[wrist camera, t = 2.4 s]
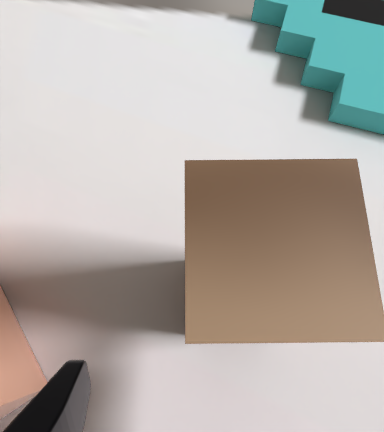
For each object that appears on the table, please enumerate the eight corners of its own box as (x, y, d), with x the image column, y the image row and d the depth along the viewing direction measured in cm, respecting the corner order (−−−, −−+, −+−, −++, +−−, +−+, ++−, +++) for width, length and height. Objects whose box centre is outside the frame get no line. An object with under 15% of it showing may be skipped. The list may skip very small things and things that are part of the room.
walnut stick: (266, 334, 18) (388, 341, 7) (190, 335, 18) (185, 343, 7) (261, 259, 20) (356, 159, 8) (189, 259, 20) (184, 160, 8)
